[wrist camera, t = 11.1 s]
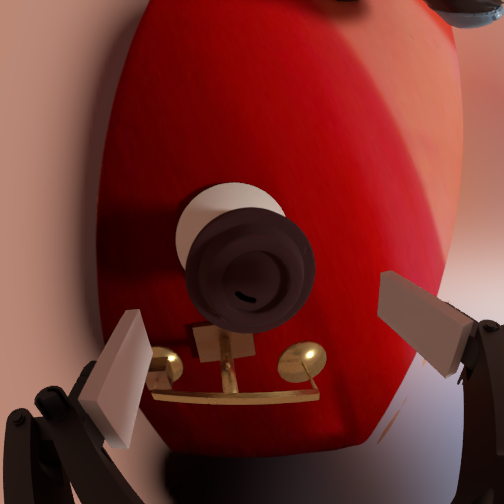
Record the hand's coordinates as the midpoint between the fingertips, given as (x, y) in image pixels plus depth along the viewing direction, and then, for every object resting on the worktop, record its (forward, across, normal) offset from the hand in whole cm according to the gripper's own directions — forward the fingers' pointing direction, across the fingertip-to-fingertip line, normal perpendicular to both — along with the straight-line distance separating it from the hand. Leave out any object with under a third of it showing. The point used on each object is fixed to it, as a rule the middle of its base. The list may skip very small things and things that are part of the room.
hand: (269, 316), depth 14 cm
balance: (+21, -4, -15) cm, 26 cm away
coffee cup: (+20, 0, 0) cm, 20 cm away
